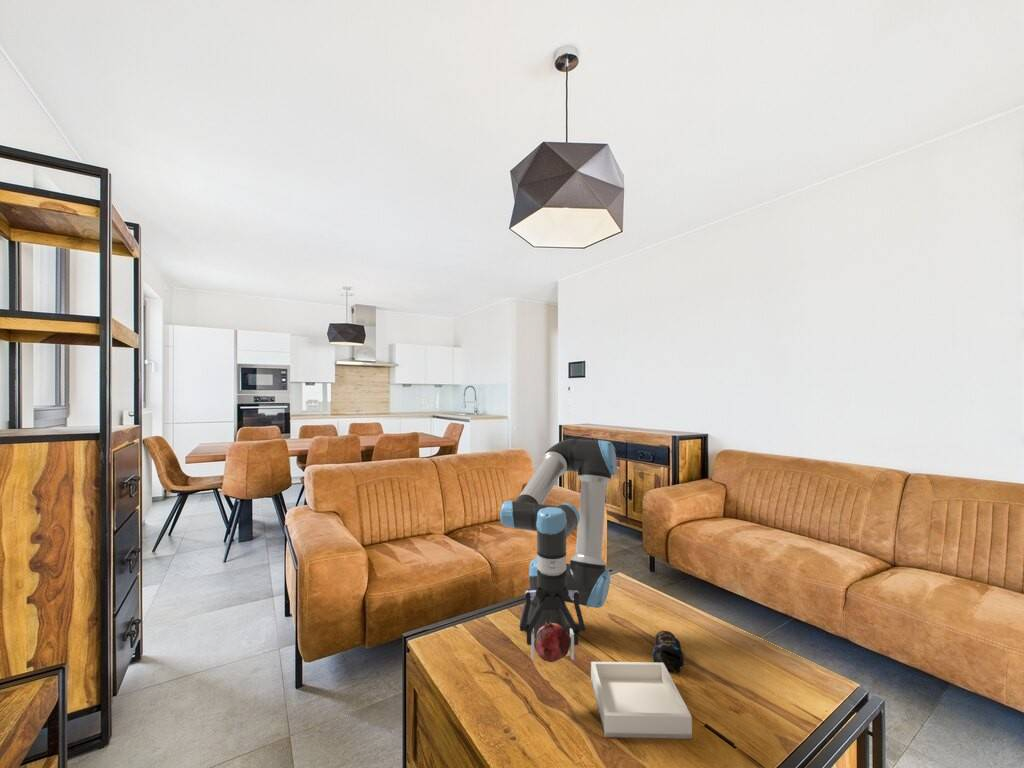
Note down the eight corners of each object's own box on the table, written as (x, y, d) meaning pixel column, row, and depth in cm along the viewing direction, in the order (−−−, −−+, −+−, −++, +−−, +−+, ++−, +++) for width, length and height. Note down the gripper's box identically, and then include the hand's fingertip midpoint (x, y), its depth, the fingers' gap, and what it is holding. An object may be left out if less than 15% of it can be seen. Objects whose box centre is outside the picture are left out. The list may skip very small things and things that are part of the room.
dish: (605, 737, 101) (605, 715, 101) (591, 679, 121) (591, 661, 121) (691, 738, 101) (691, 716, 101) (663, 680, 121) (663, 662, 121)
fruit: (578, 657, 112) (578, 619, 112) (552, 674, 106) (552, 634, 106) (552, 641, 119) (552, 605, 119) (527, 656, 113) (526, 618, 113)
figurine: (648, 652, 124) (650, 619, 138) (657, 679, 124) (658, 644, 138) (680, 650, 121) (679, 617, 135) (688, 679, 121) (686, 643, 135)
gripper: (508, 576, 109) (509, 665, 109) (597, 576, 108) (597, 666, 109) (509, 563, 116) (509, 647, 116) (592, 563, 116) (592, 647, 116)
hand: (552, 656), depth 113 cm, fingers closed on fruit, 9 cm apart
